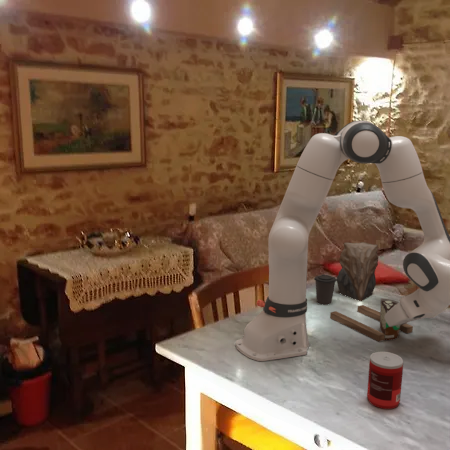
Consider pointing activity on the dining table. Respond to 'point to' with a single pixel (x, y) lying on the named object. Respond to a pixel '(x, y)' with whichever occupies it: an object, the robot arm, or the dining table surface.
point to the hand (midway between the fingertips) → (399, 323)
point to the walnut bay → (364, 328)
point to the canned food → (385, 379)
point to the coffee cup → (324, 288)
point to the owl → (358, 270)
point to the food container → (389, 332)
